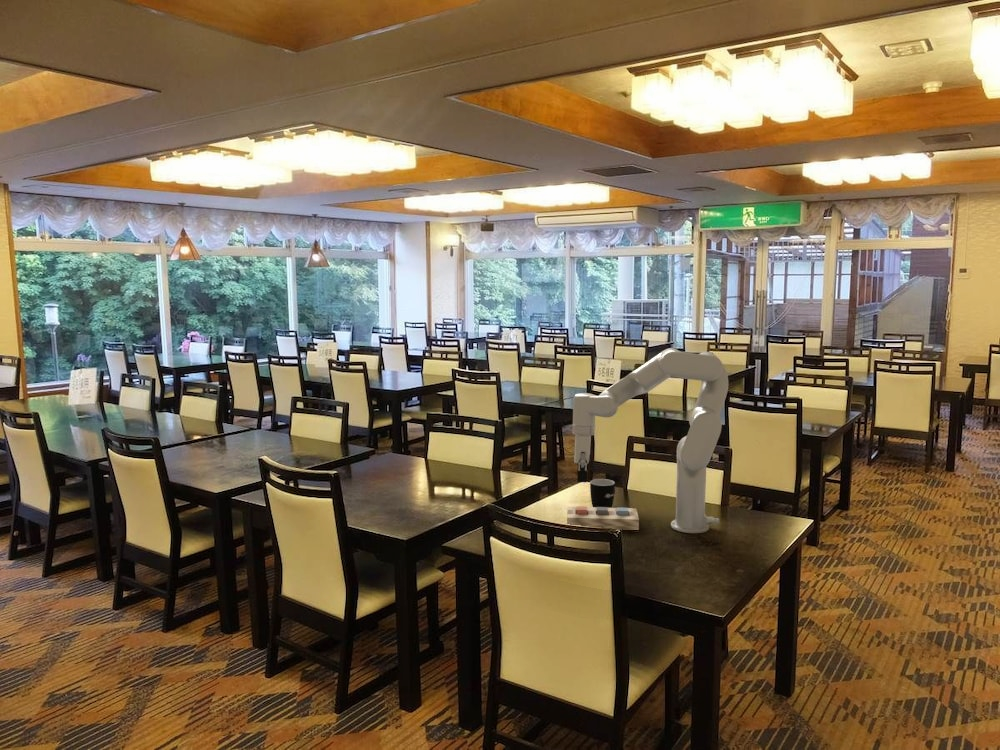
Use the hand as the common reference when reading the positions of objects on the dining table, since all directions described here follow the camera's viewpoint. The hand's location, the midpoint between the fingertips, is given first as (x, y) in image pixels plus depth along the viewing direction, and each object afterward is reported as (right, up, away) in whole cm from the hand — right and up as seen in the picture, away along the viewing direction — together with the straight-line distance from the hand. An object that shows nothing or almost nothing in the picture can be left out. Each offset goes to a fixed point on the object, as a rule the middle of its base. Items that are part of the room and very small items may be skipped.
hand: (582, 478), depth 249 cm
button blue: (+14, -13, -1) cm, 19 cm away
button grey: (+7, -13, 0) cm, 15 cm away
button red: (0, -13, +1) cm, 13 cm away
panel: (+7, -16, 0) cm, 17 cm away
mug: (+10, -14, +18) cm, 25 cm away
